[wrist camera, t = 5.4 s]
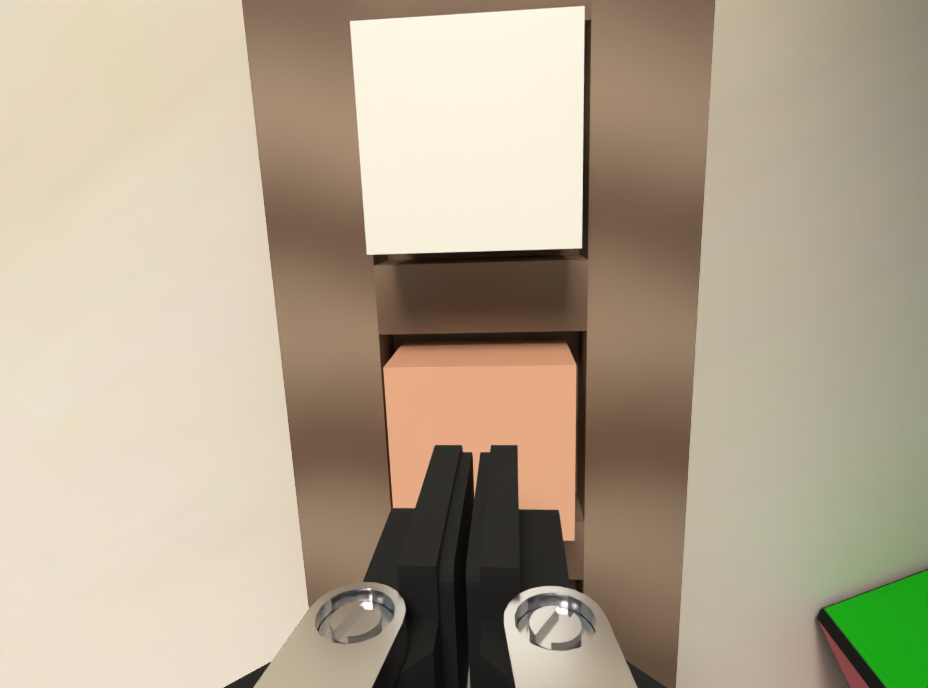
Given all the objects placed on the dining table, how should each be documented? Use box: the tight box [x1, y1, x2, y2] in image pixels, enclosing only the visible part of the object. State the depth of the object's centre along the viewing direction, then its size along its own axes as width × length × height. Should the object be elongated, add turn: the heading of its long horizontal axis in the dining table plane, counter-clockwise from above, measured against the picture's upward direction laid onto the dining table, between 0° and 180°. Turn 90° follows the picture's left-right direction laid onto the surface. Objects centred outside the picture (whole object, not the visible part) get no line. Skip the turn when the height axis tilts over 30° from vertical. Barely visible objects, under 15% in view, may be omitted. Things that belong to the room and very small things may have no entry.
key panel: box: [242, 0, 715, 688], centre depth 18 cm, size 24×12×2 cm, turn 2°
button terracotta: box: [383, 339, 576, 541], centre depth 17 cm, size 5×5×3 cm
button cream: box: [350, 6, 585, 255], centre depth 14 cm, size 5×5×3 cm
